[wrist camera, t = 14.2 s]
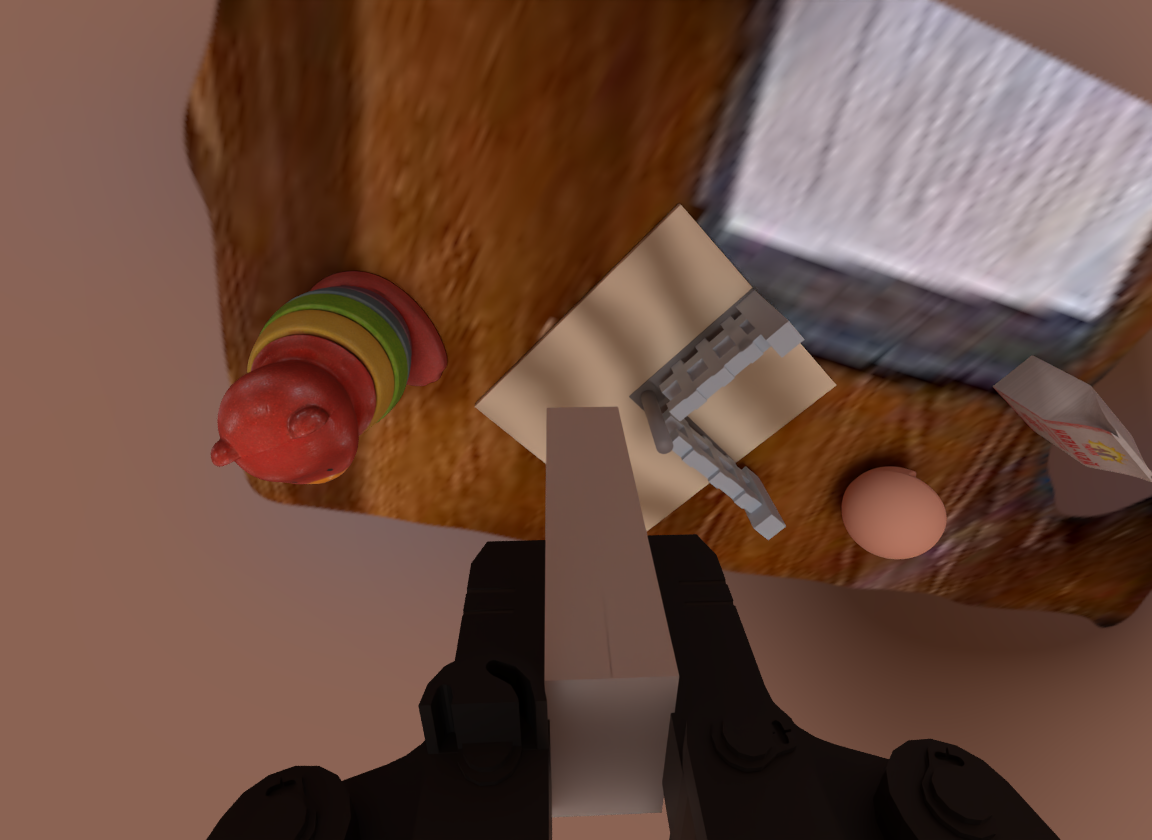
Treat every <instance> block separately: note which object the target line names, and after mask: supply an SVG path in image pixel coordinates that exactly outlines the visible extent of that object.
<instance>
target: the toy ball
mask: <svg viewBox="0 0 1152 840" xmlns="http://www.w3.org/2000/svg"><path fill="white" fill-rule="evenodd" d="M841 510H842V518H843V522H844V525H845V527H846V529H847V531H848V533H849V534H850V536H851V537H852V538H853V539H854V541H855V542H856V543H857V544H859V545H860V546H861V547H862V548H864V549H865V550H867V551H869V552H870V553H872V554H875V555H877V556H880V557H884V558H889V559H907V558H912V557H915V556H918V555H920V554H922V553H924V552H926V551H928V550H929V549H930V548H932V547H933V546H934V545H935V544H936V543H937V541H938V540H939V539H940V537H941V536H942V534H943V532H944V530H945V527H946V521H947V517H946V511H945V507H944V505H943V503H942V501H941V499H940V498H939V496H938V495H937V494H936V492H935V491H934V490H933V489H932V488H931V487H929V486H928V485H927V484H926V483H924V482H923V481H921V480H920V479H918V478H916V472H915V471H912V470H909V469H906V468H901V467H894V466H886V467H879V468H875V469H871V470H869V471H867V472H865V473H863V474H861V475H860V476H858V477H857V478H856V479H855V480H853V481H852V482H851V483H850V484H849V486H848V487H847V489H846V491H845V493H844V496H843V500H842V508H841Z"/></svg>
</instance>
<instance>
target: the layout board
mask: <svg viewBox="0 0 1152 840" xmlns="http://www.w3.org/2000/svg"><path fill="white" fill-rule="evenodd" d="M753 291H754V289H753V288H752V287H751V285H750V284H749V283H748V282H747V281H746V280H745V278H744V277H743V276H742V275H741V274H740V273H739V272H738V270H737V269H736V268H735V267H734V266H733V265H732V263H731V262H730V261H729V260H728V259H727V258H726V256H725V255H724V254H723V253H722V252H721V251H720V249H719V248H718V247H717V246H716V245H715V244H714V242H713V241H712V240H711V239H710V238H709V237H708V236H707V234H706V233H705V232H704V231H703V230H702V229H701V227H700V226H699V225H698V224H697V223H696V222H695V220H694V219H693V218H692V217H691V216H690V215H689V213H688V212H687V211H686V210H685V209H684V208H683V206H682V205H681V204H678V205H677V206H676V207H675V208H674V209H673V210H672V211H671V212H670V213H669V214H668V215H667V216H666V217H665V218H664V219H663V220H662V221H661V222H659V223H658V224H657V225H656V226H655V227H654V228H653V229H652V230H651V231H650V232H649V233H648V234H647V235H646V236H645V237H644V238H643V239H642V240H641V241H640V242H639V243H638V244H637V245H636V246H635V247H634V248H633V249H632V250H631V251H630V252H629V253H628V254H627V255H626V256H625V257H624V258H623V259H622V260H621V261H620V262H619V263H618V264H617V265H616V266H615V267H614V268H613V269H612V270H611V271H610V272H609V273H608V274H607V275H606V276H605V277H604V278H603V279H601V280H600V281H599V282H598V283H597V284H596V285H595V286H594V287H593V288H592V289H591V290H590V291H589V292H588V293H587V294H586V295H585V296H584V297H583V298H582V299H581V300H580V301H579V302H578V303H577V304H576V305H575V306H574V307H573V308H572V309H571V310H570V311H569V312H568V313H567V314H566V315H565V316H564V317H563V318H562V319H561V320H560V321H559V322H558V323H557V324H556V325H555V326H554V327H553V328H552V329H551V330H550V331H549V332H548V333H547V334H546V335H545V336H543V337H542V338H541V339H540V340H539V341H538V342H537V343H536V344H535V345H534V346H533V347H532V348H531V349H530V350H529V351H528V352H527V353H526V354H525V355H524V356H523V357H522V358H521V359H520V360H519V361H518V362H517V363H516V364H515V365H514V366H513V367H512V368H511V369H510V370H509V371H508V372H507V373H506V374H505V375H504V376H503V377H502V378H501V379H500V380H499V381H498V382H497V383H496V384H495V385H494V386H493V387H492V388H491V389H490V390H489V391H488V392H487V393H486V394H484V395H483V396H482V397H481V398H480V399H479V400H478V401H477V402H476V403H475V407H476V408H477V409H478V410H479V411H481V412H482V413H483V414H484V415H486V416H487V417H488V418H489V419H491V420H492V421H493V422H494V423H496V424H497V425H498V426H499V427H501V428H502V429H503V430H504V431H506V432H507V433H508V434H509V435H511V436H512V437H513V438H514V439H516V440H517V441H518V442H519V443H520V444H522V445H523V446H524V447H525V448H527V449H528V450H529V451H530V452H532V453H533V454H534V455H535V456H537V457H538V458H539V459H540V460H542V461H543V462H544V463H545V464H546V418H547V408H557V407H616V406H618V409H619V414H620V418H621V422H622V427H623V431H624V436H625V440H626V444H627V449H628V453H629V458H630V462H631V466H632V471H633V475H634V480H635V484H636V488H637V493H638V497H639V502H640V506H641V510H642V515H643V519H644V523H645V528H646V531H648V530H649V529H650V528H652V527H653V526H654V525H656V524H657V523H658V522H659V521H661V520H662V519H663V518H665V517H666V516H667V515H669V514H670V513H671V512H672V511H674V510H675V509H676V508H678V507H679V506H680V505H682V504H683V503H684V502H685V501H687V500H688V499H689V498H691V497H692V496H693V495H695V494H696V493H697V492H698V491H700V490H701V489H702V488H704V487H705V486H706V485H708V484H709V483H710V482H709V481H708V479H707V478H706V477H705V476H703V475H702V474H701V473H700V472H698V471H697V470H696V469H695V468H693V467H690V466H688V465H687V464H686V463H685V462H684V461H682V459H681V457H680V456H679V455H677V454H676V453H675V452H674V451H671V452H669V453H667V454H661V453H659V452H658V451H657V449H656V446H655V443H654V439H653V436H652V433H651V430H650V427H649V423H648V420H647V417H646V414H645V411H644V407H643V404H642V401H641V394H642V393H643V392H644V391H646V390H651V391H653V392H654V393H655V396H656V399H657V401H658V404H659V407H660V410H661V412H662V414H663V413H664V412H665V411H666V410H667V409H668V407H667V405H666V404H667V403H668V402H669V401H670V400H669V399H668V398H667V397H666V396H665V395H664V394H663V393H662V392H661V389H660V387H659V385H661V384H662V383H663V382H664V381H665V380H666V379H668V378H669V377H670V376H671V375H672V374H673V371H672V369H671V367H672V366H673V365H675V364H676V363H677V362H678V361H679V360H680V359H681V360H682V361H683V362H684V363H686V362H687V361H688V360H689V359H691V358H692V357H693V356H694V355H695V354H696V353H697V352H698V350H697V349H696V347H695V346H696V345H697V344H699V343H700V342H701V341H702V340H703V339H704V338H706V339H707V340H708V341H709V342H710V341H711V340H712V339H714V338H715V337H716V336H717V335H718V334H719V333H721V332H722V331H723V330H724V329H723V328H722V326H721V325H720V324H722V323H723V322H724V321H725V320H726V319H727V318H728V317H730V316H731V317H732V318H733V319H734V320H736V319H737V318H738V317H739V316H740V315H741V314H742V313H741V312H740V311H739V310H738V309H737V308H736V306H737V305H738V304H739V303H740V302H741V301H742V300H744V299H745V298H746V297H747V296H748V295H749V294H750V293H752V292H753ZM835 386H836V384H835V383H834V382H833V381H832V380H831V378H830V377H829V376H828V375H827V374H826V373H825V371H824V370H823V369H822V368H821V367H820V366H819V364H818V363H817V362H816V361H815V360H814V359H813V357H812V356H811V355H810V354H809V353H808V352H807V351H806V349H805V348H804V347H803V346H802V345H801V344H798V345H797V346H796V347H795V348H793V349H792V350H791V351H790V352H789V353H787V354H786V355H785V356H784V357H781V356H780V355H779V354H778V353H777V352H776V351H775V350H774V349H773V348H772V346H771V347H770V348H768V349H767V350H766V351H765V352H763V355H762V356H761V357H760V358H758V359H757V360H756V361H755V362H754V363H750V364H749V365H748V366H747V367H745V368H744V369H743V370H742V371H741V372H739V373H738V374H737V375H736V376H735V378H734V379H733V380H732V381H731V382H730V383H728V384H727V385H726V386H725V387H723V386H722V387H721V388H720V389H719V390H718V391H716V392H715V393H714V394H713V395H712V396H710V397H709V398H708V399H707V402H705V403H704V404H703V405H702V406H701V407H699V408H698V409H697V410H696V409H695V410H694V411H692V412H691V413H690V414H689V415H687V416H686V417H685V418H684V419H685V420H686V421H687V422H688V424H689V426H690V427H691V428H692V429H693V430H695V431H696V432H697V433H698V434H699V435H700V436H703V435H704V436H705V437H706V438H708V439H709V440H710V441H711V442H712V444H713V446H714V447H715V448H716V449H717V450H718V451H720V452H721V453H722V454H723V455H724V456H725V455H728V456H729V457H730V458H731V459H732V460H734V462H735V463H736V462H737V461H739V460H740V459H741V458H743V457H744V456H745V455H746V454H748V453H749V452H750V451H752V450H753V449H754V448H756V447H757V446H758V445H759V444H761V443H762V442H763V441H765V440H766V439H767V438H769V437H770V436H771V435H772V434H774V433H775V432H776V431H778V430H779V429H780V428H782V427H783V426H784V425H785V424H787V423H788V422H789V421H791V420H792V419H793V418H795V417H796V416H797V415H798V414H800V413H801V412H802V411H804V410H805V409H806V408H808V407H809V406H810V405H811V404H813V403H814V402H815V401H817V400H818V399H819V398H820V397H822V396H823V395H824V394H826V393H827V392H828V391H830V390H831V389H832V388H833V387H835ZM669 434H670V433H669Z"/></svg>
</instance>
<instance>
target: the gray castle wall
mask: <svg viewBox="0 0 1152 840" xmlns="http://www.w3.org/2000/svg"><path fill="white" fill-rule="evenodd" d="M662 415H663V418H664V421H665V423H666V426H667V429H668V431H669V433H670V437H671V440H672V442H673V449H672V451H674V452H675V453H676V454H677V455H679V456H680V457H681V459H682V461H684V462H685V463H686V464H687V465H688V466H690V467H693V468H695V469H696V470H697V471H698V472H700V473H701V474H702V475H703V476H705V477H706V478H707V479H708V481H709V482H710V483H711V484H712V485H713V486H715V487H716V488H717V489H718V488H720V489H721V490H722V491H723V492H724V493H726V494H727V495H728V496H729V497H731V498H732V499H733V501H734V502H735V503H736V504H737V505H738V506H739V507H741V508H742V509H743V508H744V509H745V511H746V513H747V515H748V517H749V520H750V522H751V524H752V526H753V528H754V529H755V530H756V531H758V532H759V533H760V534H761V535H763V536H764V537H765V538H766V539H768V540H769V539H770V538H772V537H773V536H774V535H776V534H777V533H778V532H779V531H781V530H782V529H783V528H785V527H786V525H785V523H784V521H783V520H782V518H781V516H780V514H779V513H778V511H777V509H776V507H775V505H774V504H773V502H772V500H771V498H770V496H769V495H768V493H767V491H766V489H765V488H764V486H763V484H762V482H761V480H760V479H759V477H758V476H757V475H755V474H754V473H753V472H752V471H751V470H750V469H748V468H747V467H746V466H745V467H744V468H743V469H742V470H741V469H740V468H739V467H737V466H736V464H735V462H734V460H732V459H731V458H730V457H729V456H728V455H725V456H724V455H723V454H722V453H721V452H720V451H718V450H717V449H716V448H715V447H714V446H713V444H712V442H711V441H710V440H709V439H708V438H706V437H705V436H704V435H703V436H700V435H699V434H698V433H697V432H696V431H695V430H693V429H692V428H691V427H690V426H689V424H688V422H687V421H686V420H685V419H683V420H681V421H679V420H678V419H676V418H675V417H674V416H673V415H672V414H671V413H670V412H669V410H668V409H667V410H666V411H665V412H664V413H663V414H662Z"/></svg>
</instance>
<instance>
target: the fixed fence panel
mask: <svg viewBox="0 0 1152 840" xmlns="http://www.w3.org/2000/svg"><path fill="white" fill-rule="evenodd" d="M736 308H737V309H738V310H739V311H740V312H741V313H742V314H741V315H740V316H739V317H738V318H737V319H736V320H734V319H733V318H732V317H731V316H730V317H728V318H727V319H726V320H725V321H724V322H723V323H722V324H720V325H721V326H722V328H723V329H724V330H723V331H722V332H721V333H719V334H718V335H717V336H716V337H715V338H714V339H712V340H711V341H710V342H709V341H708V340H707V339H706V338H704V339H703V340H702V341H701V342H700V343H699V344H697V345H696V346H695V347H696V349H697V350H698V352H697V353H696V354H695V355H694V356H693V357H692V358H691V359H689V360H688V361H687V362H686V363H684V362H683V361H682V360H681V359H680V360H679V361H678V362H677V363H676V364H675V365H673V366H672V367H671V369H672V371H673V374H672V375H671V376H670V377H669V378H668V379H666V380H665V381H664V382H663V383H662V384H661V385H659V387H660V389H661V392H662V393H663V394H664V395H665V396H666V397H667V398H668V399H669V400H670V401H669V402H668V403H667V404H666V405H667V407H668V410H669V412H670V413H671V414H672V415H673V416H674V417H675V418H676V419H678V420H679V421H681V420H683V419H684V418H685V417H686V416H687V415H689V414H690V413H691V412H692V411H694V410H695V409H696V410H697V409H698V408H699V407H701V406H702V405H703V404H704V403H705V402H707V399H708V398H709V397H710V396H712V395H713V394H714V393H715V392H716V391H718V390H719V389H720V388H721V387H722V386H723V387H725V386H726V385H727V384H728V383H730V382H731V381H732V380H733V379H734V378H735V376H736V375H737V374H738V373H739V372H741V371H742V370H743V369H744V368H745V367H747V366H748V365H749V364H750V363H754V362H755V361H756V360H757V359H758V358H760V357H761V356H762V355H763V352H765V351H766V350H767V349H768V348H770V347H771V346H772V348H773V349H774V350H775V351H776V352H777V353H778V354H779V355H780V356H781V357H784V356H785V355H786V354H787V353H789V352H790V351H791V350H792V349H793V348H795V347H796V346H797V345H798V344H800V343H801V342H802V341H803V340H804V338H803V337H802V336H801V335H800V334H799V333H798V331H797V330H796V329H795V328H794V327H793V326H792V324H791V323H790V322H789V321H788V320H787V319H786V318H785V317H784V316H783V315H781V314H780V313H779V312H778V311H777V310H776V309H775V308H774V307H773V306H772V305H770V304H769V303H768V302H767V301H766V300H765V299H764V298H763V297H762V296H761V295H759V294H758V293H757V292H756V291H755V290H754V291H753V292H752V293H750V294H749V295H748V296H747V297H746V298H745V299H744V300H742V301H741V302H740V303H739V304H738V305H737V306H736ZM641 401H642V404H643V407H644V411H645V414H646V417H647V420H648V423H649V427H650V430H651V433H652V436H653V439H654V443H655V446H656V449H657V451H658V452H659V453H661V454H667V453H669V452H671V451H672V449H673V442H672V440H671V437H670V434H669V431H668V429H667V426H666V423H665V421H664V418H663V415H662V412H661V410H660V407H659V404H658V401H657V399H656V396H655V393H654V392H653V391H651V390H646V391H644V392H643V393H642V394H641Z"/></svg>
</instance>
